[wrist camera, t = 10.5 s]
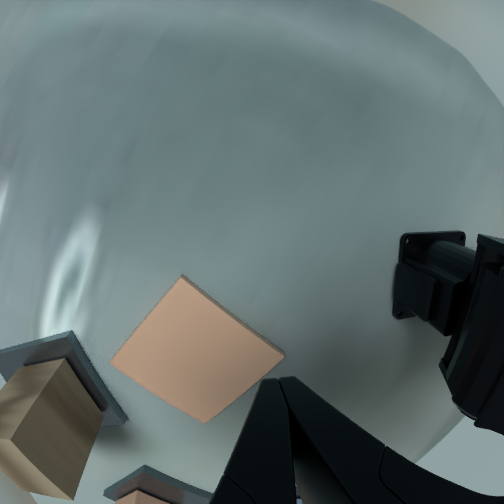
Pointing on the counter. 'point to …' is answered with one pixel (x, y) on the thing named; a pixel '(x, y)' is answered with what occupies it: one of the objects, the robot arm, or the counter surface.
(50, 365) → the brown wooden block
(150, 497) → the tan block
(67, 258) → the counter surface
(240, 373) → the card
